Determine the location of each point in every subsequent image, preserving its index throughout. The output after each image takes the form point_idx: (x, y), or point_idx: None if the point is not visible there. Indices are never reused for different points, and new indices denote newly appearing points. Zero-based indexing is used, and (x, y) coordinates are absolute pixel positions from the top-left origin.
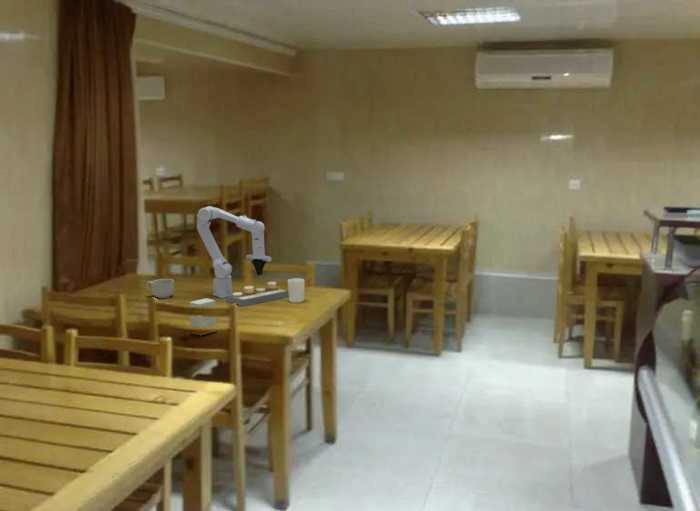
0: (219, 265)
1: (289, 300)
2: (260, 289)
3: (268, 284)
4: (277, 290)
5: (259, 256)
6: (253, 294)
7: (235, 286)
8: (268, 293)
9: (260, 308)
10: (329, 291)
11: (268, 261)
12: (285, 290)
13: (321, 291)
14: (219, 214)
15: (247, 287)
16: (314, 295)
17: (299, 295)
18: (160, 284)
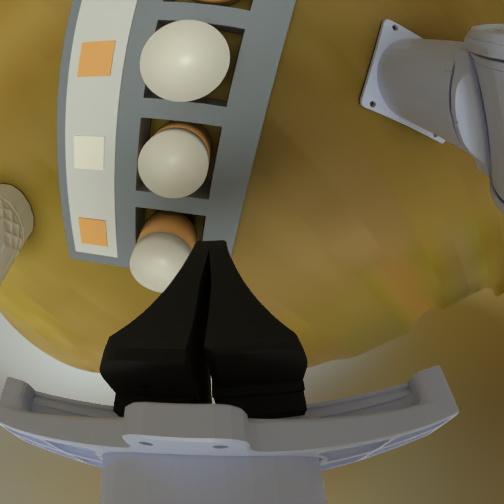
0: None
1: (18, 191)
2: (152, 149)
3: (156, 237)
4: (105, 231)
5: (106, 463)
6: None
7: (445, 251)
8: (77, 146)
9: (15, 12)
10: (81, 352)
11: (8, 377)
12: (88, 259)
13: (94, 346)
14: None
15: (174, 34)
16: (54, 304)
17: None
18: None
